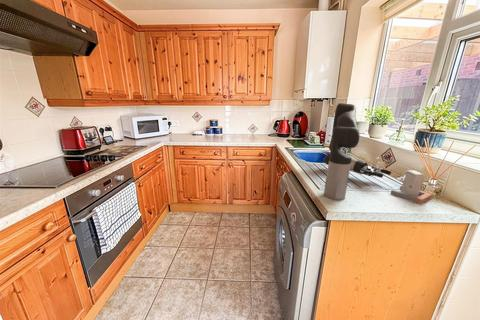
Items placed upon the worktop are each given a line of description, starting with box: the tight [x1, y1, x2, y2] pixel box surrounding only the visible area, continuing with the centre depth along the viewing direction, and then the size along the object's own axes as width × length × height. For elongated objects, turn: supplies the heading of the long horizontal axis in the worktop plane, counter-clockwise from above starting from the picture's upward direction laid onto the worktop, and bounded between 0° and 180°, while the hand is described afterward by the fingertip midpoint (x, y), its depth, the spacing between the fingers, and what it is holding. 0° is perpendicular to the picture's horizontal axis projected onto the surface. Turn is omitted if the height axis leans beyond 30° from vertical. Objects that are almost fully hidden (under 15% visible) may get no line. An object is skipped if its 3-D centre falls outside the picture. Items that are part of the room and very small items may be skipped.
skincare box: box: [400, 170, 425, 197], centre depth 96 cm, size 6×4×12 cm
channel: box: [390, 185, 433, 205], centre depth 97 cm, size 12×12×2 cm
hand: (386, 174), depth 105 cm, fingers open, 8 cm apart
